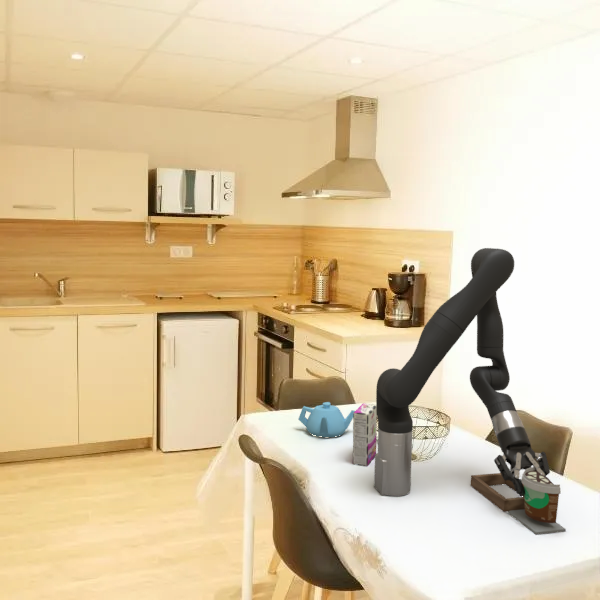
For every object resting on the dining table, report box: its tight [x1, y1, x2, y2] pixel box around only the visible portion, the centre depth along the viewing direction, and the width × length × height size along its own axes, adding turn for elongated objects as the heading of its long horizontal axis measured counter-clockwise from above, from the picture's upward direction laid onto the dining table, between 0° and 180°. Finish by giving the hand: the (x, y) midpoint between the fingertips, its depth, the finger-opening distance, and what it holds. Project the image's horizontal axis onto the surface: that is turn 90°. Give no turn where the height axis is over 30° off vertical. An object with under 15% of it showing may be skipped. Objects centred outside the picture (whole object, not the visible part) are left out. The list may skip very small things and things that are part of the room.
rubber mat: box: [507, 509, 567, 536], centre depth 161 cm, size 8×12×1 cm, turn 14°
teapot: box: [298, 401, 356, 438], centre depth 229 cm, size 15×15×11 cm
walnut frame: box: [470, 472, 525, 513], centre depth 176 cm, size 11×17×3 cm, turn 14°
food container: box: [520, 466, 562, 523], centre depth 160 cm, size 12×6×10 cm, turn 7°
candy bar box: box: [352, 402, 378, 467], centre depth 202 cm, size 11×5×16 cm, turn 160°
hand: (534, 493), depth 162 cm, fingers closed on food container, 5 cm apart
